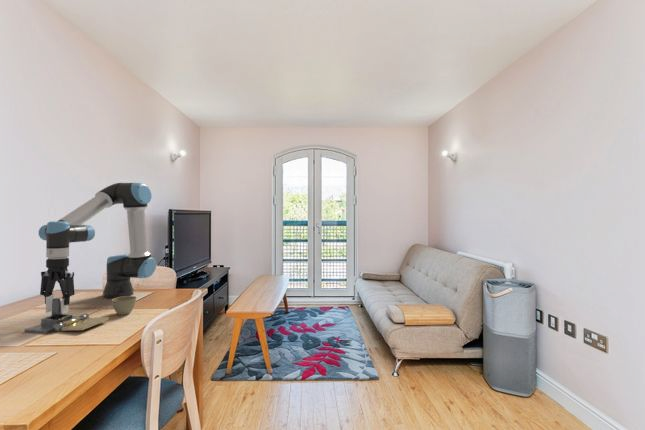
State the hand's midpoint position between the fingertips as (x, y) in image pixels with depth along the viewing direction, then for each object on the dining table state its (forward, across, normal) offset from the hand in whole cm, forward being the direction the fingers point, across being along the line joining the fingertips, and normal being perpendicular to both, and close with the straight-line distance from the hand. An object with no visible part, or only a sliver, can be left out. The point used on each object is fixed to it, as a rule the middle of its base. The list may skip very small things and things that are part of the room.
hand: (57, 312), depth 137 cm
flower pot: (+6, +16, +19) cm, 25 cm away
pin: (+4, 0, 0) cm, 4 cm away
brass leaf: (+5, +12, 0) cm, 13 cm away
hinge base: (+5, +2, 0) cm, 6 cm away
